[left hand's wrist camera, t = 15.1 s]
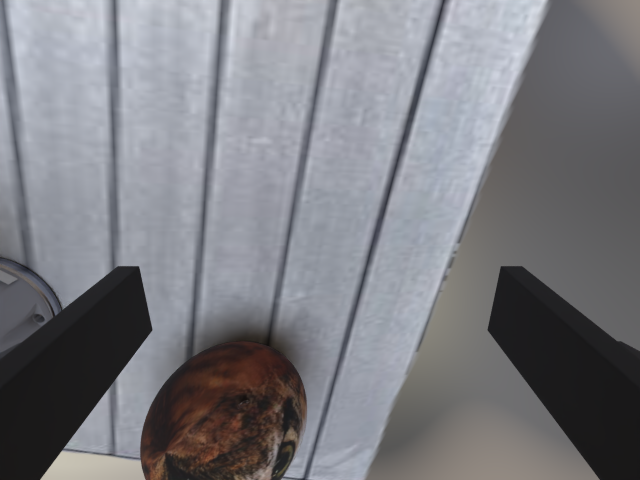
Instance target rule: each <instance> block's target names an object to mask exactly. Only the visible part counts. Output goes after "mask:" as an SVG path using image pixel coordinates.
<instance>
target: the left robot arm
mask: <svg viewBox="0 0 640 480" xmlns="http://www.w3.org/2000/svg"><path fill="white" fill-rule="evenodd" d="M151 331H152V326H151V321H150V316H149V312H148V307H147V302H146V297H145V292H144V288H143V283H142V278H141V273H140V269H139V266H118V267H116V268H115V269H114V270H113V271H111V272H110V273H109V274H108V275H106V276H105V277H104V278H103V279H101V280H100V281H99V282H97V283H96V284H95V285H94V286H92V287H91V288H90V289H89V290H87V291H86V292H85V293H84V294H82V295H81V296H80V297H78V298H77V299H76V300H75V301H73V302H72V303H71V304H70V305H68V306H67V307H66V308H65V309H63V310H62V311H61V308H60V305H59V302H58V300H57V298H56V297H55V295H54V293H53V292H52V291H51V289H50V288H49V287H48V286H47V284H46V283H45V282H44V281H43V280H42V279H40V278H39V277H38V276H37V275H36V274H34V273H33V272H32V271H30V270H28V269H27V268H25V267H23V266H21V265H19V264H17V263H15V262H13V261H10V260H7V259H3V258H0V480H40V479H41V478H42V476H43V475H44V474H45V472H46V471H47V470H48V468H49V467H50V466H51V464H52V463H53V462H54V460H55V459H56V458H57V456H58V455H59V454H60V452H61V451H62V450H63V448H64V447H65V446H66V444H67V443H68V442H69V440H70V439H71V438H72V436H73V435H74V434H75V432H76V431H77V430H78V428H79V427H80V426H81V425H82V423H83V422H84V421H85V419H86V418H87V417H88V415H89V414H90V413H91V411H92V410H93V409H94V407H95V406H96V405H97V403H98V402H99V401H100V399H101V398H102V397H103V395H104V394H105V393H106V391H107V390H108V389H109V387H110V386H111V385H112V383H113V382H114V381H115V379H116V378H117V377H118V375H119V374H120V373H121V371H122V370H123V369H124V367H125V366H126V365H127V363H128V362H129V361H130V359H131V358H132V357H133V355H134V354H135V353H136V351H137V350H138V349H139V347H140V346H141V345H142V343H143V342H144V341H145V339H146V338H147V337H148V335H149V334H150V333H151ZM488 331H489V333H490V334H491V335H492V337H493V338H494V339H495V341H496V342H497V343H498V345H499V346H500V347H501V349H502V350H503V351H504V353H505V354H506V355H507V357H508V358H509V359H510V361H511V362H512V363H513V365H514V366H515V367H516V369H517V370H518V371H519V373H520V374H521V375H522V377H523V378H524V379H525V380H526V382H527V383H528V385H529V386H530V387H531V389H532V390H533V391H534V393H535V394H536V395H537V397H538V398H539V399H540V401H541V402H542V403H543V405H544V406H545V407H546V409H547V410H548V411H549V413H550V414H551V415H552V416H553V418H554V419H555V421H556V422H557V423H558V424H559V426H560V427H561V428H562V430H563V431H564V432H565V434H566V435H567V436H568V438H569V439H570V440H571V442H572V443H573V444H574V446H575V447H576V448H577V450H578V451H579V452H580V454H581V455H582V456H583V458H584V459H585V460H586V462H587V463H588V464H589V466H590V467H591V468H592V470H593V471H594V472H595V474H596V475H597V476H598V478H599V479H600V480H640V351H638V350H636V349H634V348H633V347H630V346H629V345H627V344H625V343H623V342H621V341H620V342H618V341H616V340H615V339H614V338H612V337H611V336H610V335H608V334H607V333H606V332H605V331H603V330H602V329H601V328H600V327H598V326H597V325H596V324H594V323H593V322H592V321H591V320H589V319H588V318H587V317H586V316H584V315H583V314H582V313H581V312H579V311H578V310H577V309H575V308H574V307H573V306H572V305H570V304H569V303H568V302H567V301H565V300H564V299H563V298H562V297H560V296H559V295H558V294H556V293H555V292H554V291H553V290H551V289H550V288H549V287H548V286H546V285H545V284H544V283H542V282H541V281H540V280H539V279H537V278H536V277H535V276H534V275H532V274H531V273H530V272H529V271H527V270H526V269H525V268H524V267H522V266H501V269H500V273H499V278H498V283H497V288H496V293H495V297H494V302H493V307H492V312H491V316H490V321H489V326H488Z"/></svg>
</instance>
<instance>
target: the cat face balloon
mask: <svg viewBox="0 0 640 480" xmlns="http://www.w3.org/2000/svg"><path fill="white" fill-rule="evenodd" d="M306 420H307V400H306V394H305V389H304V386H303V383H302V380H301V378H300V376H299V374H298V372H297V370H296V369H295V367H294V366H293V365H292V363H291V362H290V361H289V360H288V359H287V358H286V357H285V356H284V355H283V354H281V353H280V352H278V351H277V350H275V349H273V348H271V347H269V346H267V345H264V344H261V343H256V342H249V341H236V342H229V343H224V344H220V345H217V346H214V347H211V348H209V349H207V350H205V351H203V352H201V353H199V354H197V355H196V356H194V357H192V358H191V359H190V360H188V361H187V362H185V363H184V364H183V365H182V366H181V367H179V368H178V369H177V370H176V371H175V372H174V373H173V374H172V375H171V376H170V378H169V379H168V380H167V381H166V382H165V384H164V385H163V386H162V388H161V389H160V391H159V392H158V394H157V395H156V397H155V399H154V401H153V402H152V404H151V407H150V409H149V411H148V414H147V416H146V420H145V423H144V426H143V431H142V436H141V446H140V457H141V464H142V469H143V473H144V476H145V479H146V480H281V479H282V477H283V476H284V475H285V473H286V472H287V470H288V469H289V467H290V466H291V464H292V462H293V460H294V459H295V457H296V455H297V452H298V450H299V448H300V445H301V442H302V439H303V436H304V432H305V427H306Z"/></svg>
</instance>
